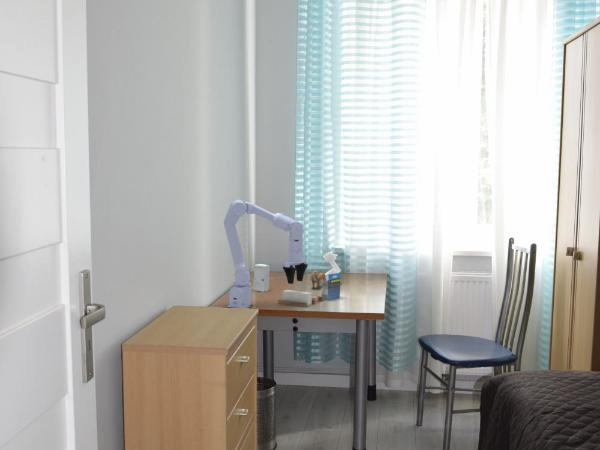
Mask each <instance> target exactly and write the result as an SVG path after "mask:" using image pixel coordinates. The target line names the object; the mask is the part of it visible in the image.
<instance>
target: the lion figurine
mask: <svg viewBox="0 0 600 450" xmlns="http://www.w3.org/2000/svg"><path fill="white" fill-rule="evenodd" d="M325 274H326V273H324V272H319V271H318V270H313V271H312V272H311V274H310V275H311V276H310V280H311V285H312V287H311V289H312V288H313V290H314V289H315V284H316V289H317V290H320V286H321V285H322V280H323V282H325V281H326V276H325Z"/></svg>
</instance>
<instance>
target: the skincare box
mask: <svg viewBox="0 0 600 450" xmlns="http://www.w3.org/2000/svg"><path fill="white" fill-rule="evenodd" d="M253 270H254V272H253V291H256V292H262V293H263V292H264V291H265V292H269V288H270V287H269V286H270V264H269V265H268V264H263V263H257V264H254V268H253ZM265 292H264V293H265Z"/></svg>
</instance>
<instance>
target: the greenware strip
mask: <svg viewBox="0 0 600 450" xmlns="http://www.w3.org/2000/svg"><path fill="white" fill-rule="evenodd" d="M312 294H313V293H312V292H311V291H310V292H309V291H302V290H292V289H285V290H282V300H288V301H296V302H305V303H307V306H309V305H312V296H313V295H312ZM312 306H313V305H312ZM309 307H310V306H309Z"/></svg>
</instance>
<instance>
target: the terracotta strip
mask: <svg viewBox="0 0 600 450" xmlns="http://www.w3.org/2000/svg"><path fill="white" fill-rule="evenodd" d="M316 296H317V295H312V299H313V300H315V302H318V297H316Z"/></svg>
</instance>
